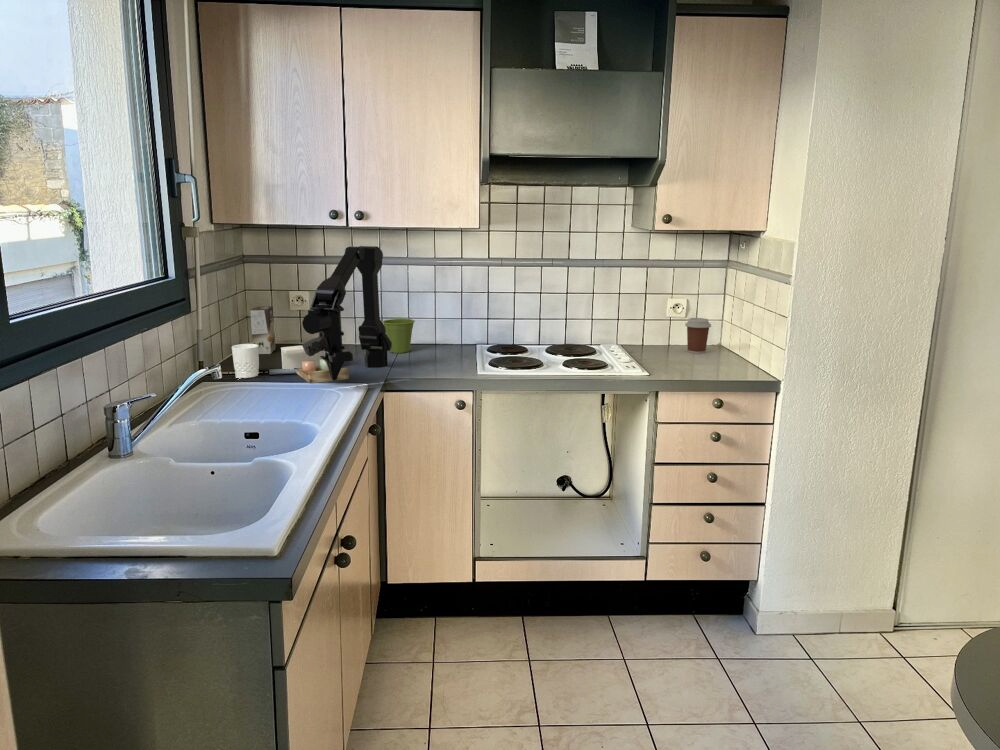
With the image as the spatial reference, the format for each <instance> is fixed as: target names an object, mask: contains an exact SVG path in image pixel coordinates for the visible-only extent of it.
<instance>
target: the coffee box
mask: <svg viewBox="0 0 1000 750" xmlns="http://www.w3.org/2000/svg"><path fill="white" fill-rule="evenodd" d="M249 311H250V324H251V325H250V326H251V327H250V328H251V340H252V341H251V342H252V344H257V345H258V347H259V355H271V354H272V353H274V351H275V350H276V338H275V323H274V322H275V321H274V307H273V306H272V305H271V306H267V305H266V306H265V305H264V306H263V305H262V306H255V307H253V308H251V309H250V310H249Z"/></svg>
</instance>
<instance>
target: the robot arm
mask: <svg viewBox="0 0 1000 750" xmlns="http://www.w3.org/2000/svg"><path fill="white" fill-rule="evenodd" d="M383 258H384V253H383V250H381V249H380V247H379V246H374V245H373V246H371V245H369V246H368V245H359V246H352V245H351V246H350V245H349V246H348V247H346V248H345V250H344V253H343V256H342V257H341V259H340V260H339V262H338V263H337V265H336V267H335V269H334V270H333V272H332V273H331V275H330V277H328V278H326V279H324V280H322V282H321V283H320V284H319V285H318V286H317V288H316V290H315V292H314V295H313V299H312V301H311V304H310V306H309V309H307V314H306V315H305V316H303V318H302V322H301V323H302V328H303V329H304V331H305V332H306V333H308V334H310V335H315V334H318V336H317V337H314V338H312V339H310V340H308V341H305V342H304V343H302V344H301V346H303V349H304V351H305V353H306V355H308V356H313V355H315V354H316V353H318V352H320V351H322V355H323V356H320V357H321V358H322V359H323V360H324V361H326V363H327V366H328V369H329V372H330V375H331V378H332V380H335V381H337V380H336V379H337V377H338V375H339V372H340V370H341V369H342V367H343V365H344V363H345V362H346V363H347V362H353V361H354V354H353V353H352V351H350V350H348V349H346V348H345V345H344V344H343V336H345V331H343V330H342V312H343V311H345V308H344V307H343V306H342V303H343V301H344V299H345V297H346V294H347V292H346V291H347V290H346V286H347V284H348V282H349V280H350V279H351V277H352V275H353V274H354V272H355V270H356V268H357V270H358V272H359V273H360V275H361V282H362V283H361V284H362V285H361V286H362V300H363V301H362V303H363V304H362V305H363V315H364V316H363V321H362V323H361V325H359V326H358V329H357V330H358V339H359V345H360V348H361V350H362V351H365V354H364V366H365V368H369V369H373V368H375V369H377V368H379V369H380V368H385V367H388V368H390V366H389V365H388V361H389V360H388V352H390V349H391V347H392V342H391V341H390V339H389V338H388V336H387V335H386V330H385V326H384V323H382V321H383V320H381V318H380V317H381V316H380V299H379V298H380V297H379V277H378V274H379V272H380V270H381V268H382V266H383Z"/></svg>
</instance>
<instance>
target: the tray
mask: <svg viewBox="0 0 1000 750" xmlns="http://www.w3.org/2000/svg"><path fill="white" fill-rule="evenodd" d="M295 371H296V372H295V373H296V375H298V377H299V376H300V377H301V378H302V379H304V380H305V381H306V382H307V383H309V384H316V383H324V382H326V383H327V382H335V381H342V380H350V372H349V371H350V369H349V367H344V368H341V370H340V372H339V375H338V377H337V379H336V380H332V378H331V375H330V372H329V370H324V371H320V366H318V367H316V371H315V372H309V375H306V374H305V373H303V370H302V368H299V369H295Z"/></svg>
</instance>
